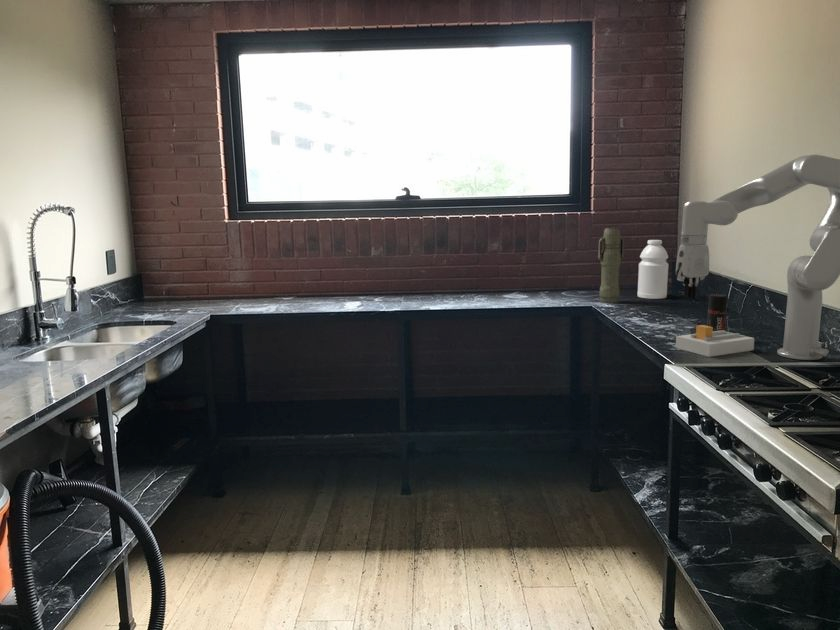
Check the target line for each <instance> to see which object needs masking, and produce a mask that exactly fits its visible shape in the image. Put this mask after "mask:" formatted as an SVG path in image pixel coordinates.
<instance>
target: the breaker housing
mask: <svg viewBox="0 0 840 630" xmlns="http://www.w3.org/2000/svg"><path fill="white" fill-rule="evenodd" d="M675 349H678V350H682V351H686V352H689V353H694V354H697V355H702V356H704V357H709V358H710V357H716V356H723V355H724V356H725V355H730V354H735V353H736V354H737V353H742V352H743V353H744V352H750V351H754V350H755V337H751V336H746V335H743V334H741V333H738V332H737V333H734V332H730V331H726V330H725V331H724V330H722V331H713V332H712V337H706V338H704V340H703V339H699V338H696V333H692V334H691V333H690V334H683V335H676V337H675Z"/></svg>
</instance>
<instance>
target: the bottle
mask: <svg viewBox="0 0 840 630" xmlns="http://www.w3.org/2000/svg"><path fill="white" fill-rule="evenodd" d="M662 244H663V241H662V240H661V239H648V240H647V245H646V246H645V247H644V248H643V250H642V251H641V253H640V255H639V258H640V259H641V261H640V262H639V263H638V272H637V273H638V276H637V277H638V278H637V293H636V295H637V297H638V298H641V299H651V300H652V299H655V300H656V299H657V300H658V299H666V298H667V297H668V296H667V295H668V281H669V280H668V278H669V277H668V276H669V263H668V262H667V260H668V258H669V255H668V251H667V250H666V249H665V247H664V246H662Z"/></svg>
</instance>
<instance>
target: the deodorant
mask: <svg viewBox="0 0 840 630" xmlns="http://www.w3.org/2000/svg"><path fill="white" fill-rule="evenodd" d="M727 304H728V295H727V294H722V293H720V294H719V293H710V294H708V307H707V324H706V326H710V327H713V331H722V330H724V331H726V321H727V320H726V319H727V318H726V317H727Z"/></svg>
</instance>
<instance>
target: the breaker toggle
mask: <svg viewBox="0 0 840 630" xmlns="http://www.w3.org/2000/svg"><path fill="white" fill-rule="evenodd" d="M712 332H713V327H710V326H707V324H706V325H705V324H700V325H696V327H695V334H696V338H699V339H703V340H704V338H706V337H712Z"/></svg>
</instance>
